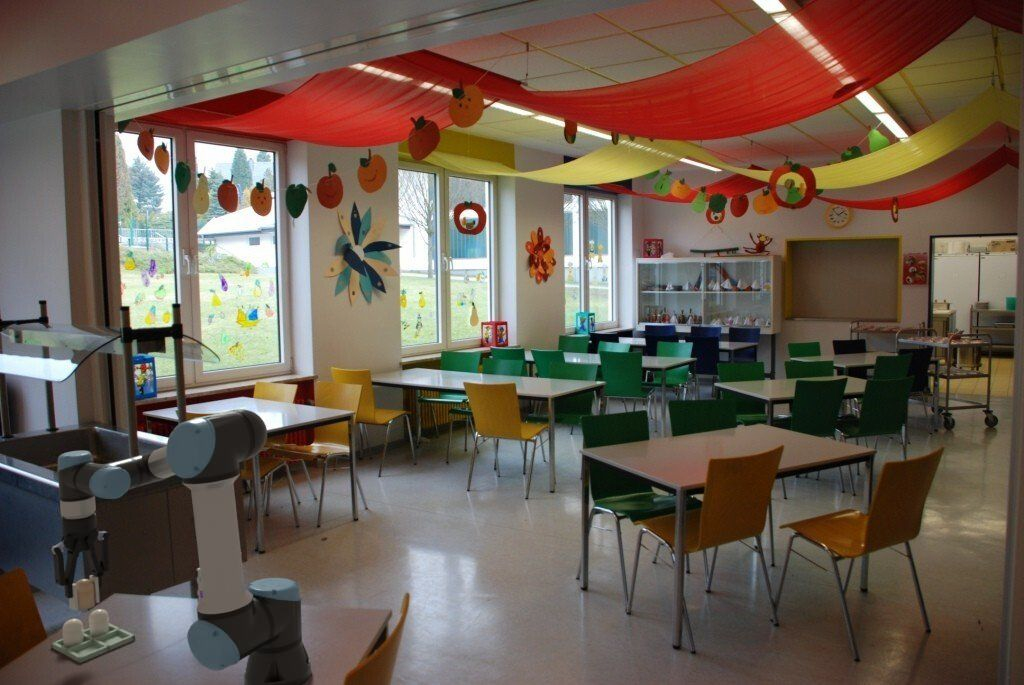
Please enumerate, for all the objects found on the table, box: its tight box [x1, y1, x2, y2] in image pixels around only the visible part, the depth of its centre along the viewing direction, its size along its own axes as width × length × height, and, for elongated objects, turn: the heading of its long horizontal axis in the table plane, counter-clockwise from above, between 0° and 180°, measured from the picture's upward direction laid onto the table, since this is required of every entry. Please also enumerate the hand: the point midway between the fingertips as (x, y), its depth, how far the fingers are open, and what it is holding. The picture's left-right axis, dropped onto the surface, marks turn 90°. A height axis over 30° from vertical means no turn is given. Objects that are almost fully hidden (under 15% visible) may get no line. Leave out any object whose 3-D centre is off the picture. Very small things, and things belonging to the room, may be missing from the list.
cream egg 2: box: [88, 608, 110, 638], centre depth 204 cm, size 5×5×7 cm
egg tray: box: [50, 622, 136, 664], centre depth 199 cm, size 14×14×2 cm
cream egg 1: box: [61, 618, 84, 649], centre depth 198 cm, size 5×5×7 cm
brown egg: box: [75, 578, 96, 611], centre depth 193 cm, size 5×5×7 cm
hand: (84, 604), depth 194 cm, fingers closed on brown egg, 4 cm apart
